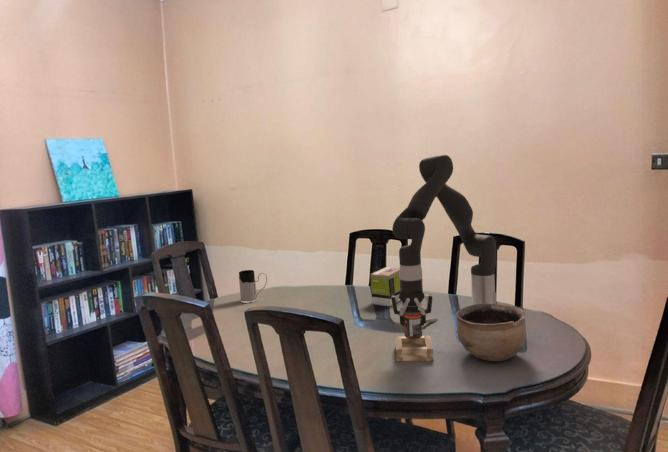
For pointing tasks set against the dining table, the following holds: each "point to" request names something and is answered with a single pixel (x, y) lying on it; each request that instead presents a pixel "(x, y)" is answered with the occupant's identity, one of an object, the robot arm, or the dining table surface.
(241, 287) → the glass holder
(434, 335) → the dining table surface
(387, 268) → the tea box
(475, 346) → the ceramic bowl
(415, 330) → the supplement bottle
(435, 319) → the caliper
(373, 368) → the dining table surface
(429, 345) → the square sleeve
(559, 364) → the dining table surface
